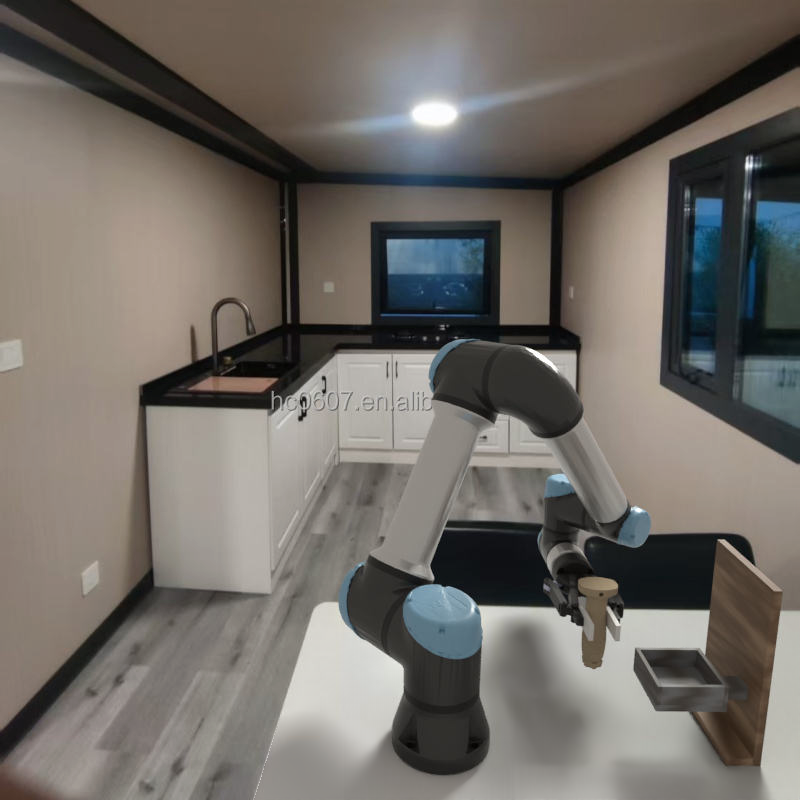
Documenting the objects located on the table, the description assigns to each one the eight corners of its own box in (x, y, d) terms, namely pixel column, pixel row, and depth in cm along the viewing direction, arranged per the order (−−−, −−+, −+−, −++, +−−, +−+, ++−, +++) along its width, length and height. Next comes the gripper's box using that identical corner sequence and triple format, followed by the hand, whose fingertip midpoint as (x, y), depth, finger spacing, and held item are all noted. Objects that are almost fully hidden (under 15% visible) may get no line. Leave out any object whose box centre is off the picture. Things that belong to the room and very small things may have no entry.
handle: (614, 673, 116) (621, 590, 113) (576, 672, 116) (581, 589, 113) (606, 657, 120) (613, 577, 118) (569, 656, 121) (575, 576, 118)
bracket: (651, 765, 102) (666, 590, 96) (614, 690, 120) (626, 538, 114) (760, 766, 102) (783, 591, 96) (708, 690, 120) (724, 539, 114)
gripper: (611, 588, 135) (654, 655, 112) (526, 586, 135) (551, 653, 112) (614, 552, 133) (658, 612, 110) (528, 550, 133) (554, 611, 110)
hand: (604, 633), depth 111 cm, fingers closed on handle, 4 cm apart
